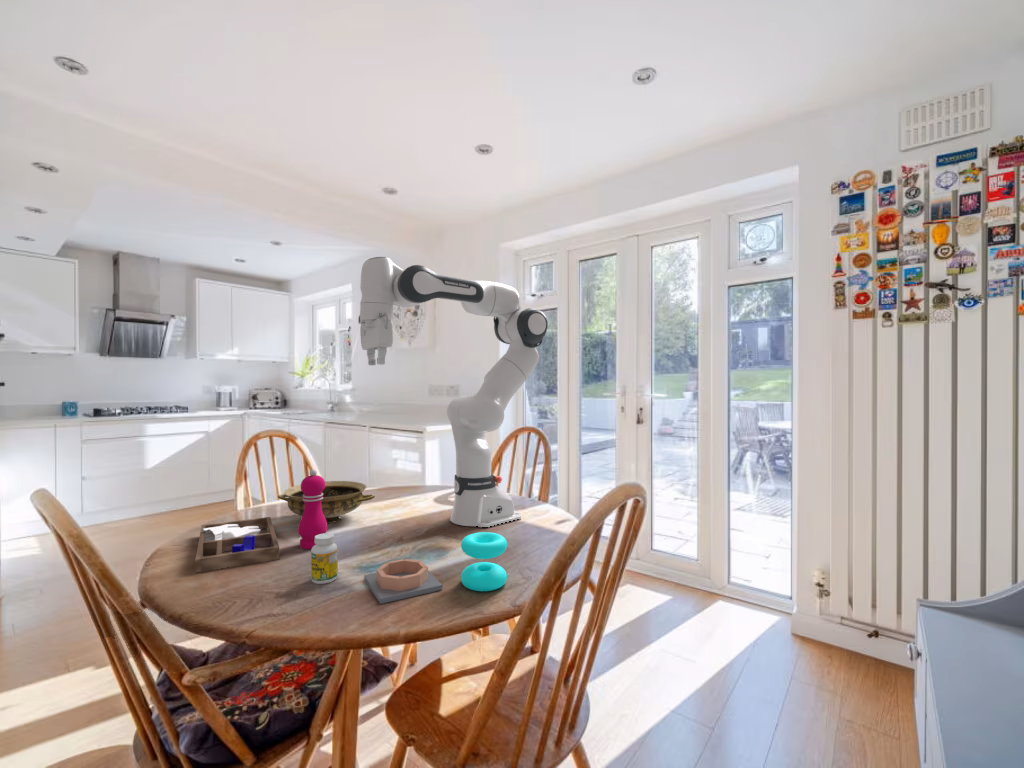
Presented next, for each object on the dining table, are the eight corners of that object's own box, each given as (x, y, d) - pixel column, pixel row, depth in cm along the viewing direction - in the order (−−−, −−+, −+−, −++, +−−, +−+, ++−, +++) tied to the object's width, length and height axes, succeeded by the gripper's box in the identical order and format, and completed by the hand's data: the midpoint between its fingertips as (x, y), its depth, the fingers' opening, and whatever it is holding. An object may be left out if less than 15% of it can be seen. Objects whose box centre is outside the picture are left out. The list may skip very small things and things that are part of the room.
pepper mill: (316, 551, 121) (317, 472, 121) (291, 548, 123) (292, 471, 123) (332, 541, 128) (333, 467, 128) (308, 539, 130) (309, 466, 130)
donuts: (496, 548, 97) (452, 541, 100) (495, 597, 97) (452, 588, 100) (514, 533, 106) (473, 528, 110) (513, 578, 106) (473, 571, 110)
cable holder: (247, 562, 114) (247, 545, 114) (231, 563, 114) (231, 546, 114) (260, 550, 122) (260, 535, 122) (246, 551, 122) (246, 535, 122)
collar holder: (420, 568, 111) (421, 553, 111) (442, 589, 100) (442, 573, 100) (364, 579, 104) (364, 563, 104) (380, 604, 93) (380, 586, 93)
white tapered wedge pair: (231, 551, 121) (269, 538, 131) (231, 534, 121) (269, 523, 131) (200, 544, 126) (239, 532, 136) (201, 528, 126) (240, 517, 136)
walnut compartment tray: (270, 526, 141) (270, 516, 141) (279, 559, 116) (279, 546, 116) (201, 536, 132) (201, 525, 132) (195, 573, 107) (195, 559, 107)
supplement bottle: (342, 576, 106) (343, 533, 106) (325, 586, 101) (325, 541, 101) (323, 572, 108) (323, 530, 108) (305, 582, 103) (305, 537, 103)
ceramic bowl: (385, 510, 159) (385, 480, 159) (360, 533, 136) (360, 498, 135) (297, 508, 161) (297, 479, 160) (256, 531, 137) (256, 496, 137)
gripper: (399, 312, 126) (398, 364, 126) (378, 320, 144) (377, 366, 144) (375, 310, 123) (374, 363, 123) (356, 318, 140) (356, 365, 140)
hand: (376, 365), depth 133 cm, fingers open, 8 cm apart
